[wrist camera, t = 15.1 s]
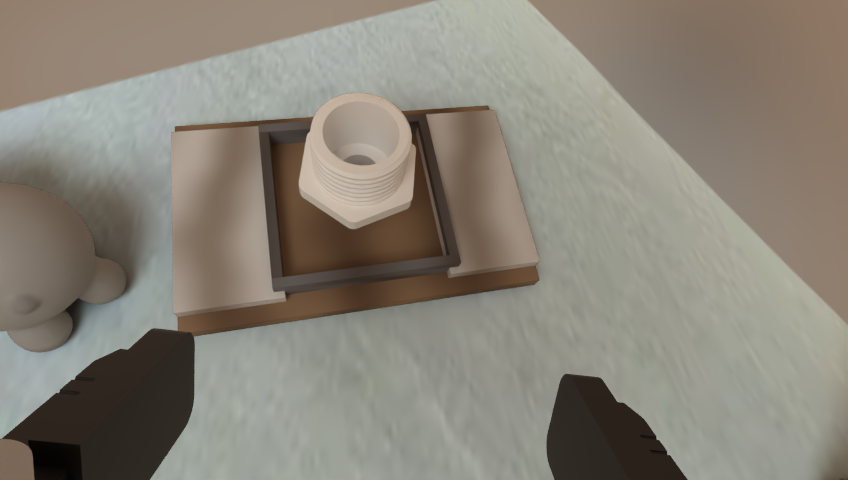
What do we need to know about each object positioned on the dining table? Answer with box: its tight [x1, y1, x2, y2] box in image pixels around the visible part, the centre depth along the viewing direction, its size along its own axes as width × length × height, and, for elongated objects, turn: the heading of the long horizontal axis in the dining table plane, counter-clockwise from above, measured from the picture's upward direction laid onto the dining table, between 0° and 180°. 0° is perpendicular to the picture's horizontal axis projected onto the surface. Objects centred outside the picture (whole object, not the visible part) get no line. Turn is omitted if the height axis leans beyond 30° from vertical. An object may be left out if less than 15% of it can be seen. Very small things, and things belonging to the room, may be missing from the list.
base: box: [171, 106, 539, 336], centre depth 32 cm, size 22×14×2 cm, turn 101°
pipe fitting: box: [299, 93, 416, 229], centre depth 29 cm, size 6×7×8 cm
